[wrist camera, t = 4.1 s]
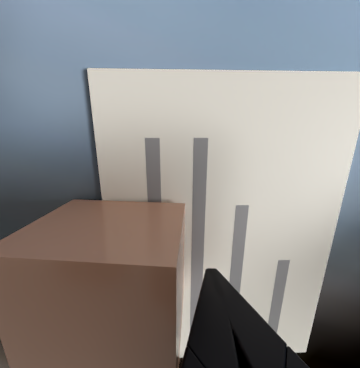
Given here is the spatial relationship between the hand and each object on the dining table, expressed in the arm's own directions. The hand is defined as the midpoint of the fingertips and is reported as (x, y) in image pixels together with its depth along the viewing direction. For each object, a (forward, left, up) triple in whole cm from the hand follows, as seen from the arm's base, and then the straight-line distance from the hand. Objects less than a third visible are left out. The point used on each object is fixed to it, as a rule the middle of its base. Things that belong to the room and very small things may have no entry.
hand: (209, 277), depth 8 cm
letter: (0, -1, -2) cm, 2 cm away
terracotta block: (0, +3, -2) cm, 4 cm away
